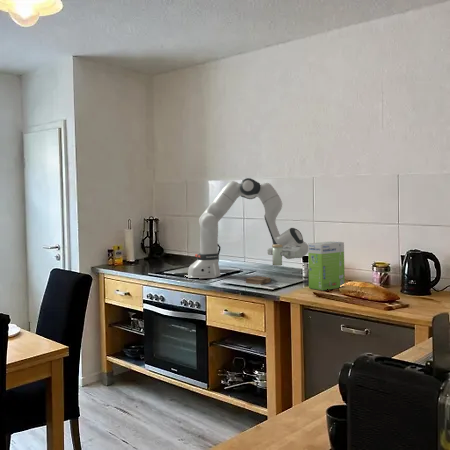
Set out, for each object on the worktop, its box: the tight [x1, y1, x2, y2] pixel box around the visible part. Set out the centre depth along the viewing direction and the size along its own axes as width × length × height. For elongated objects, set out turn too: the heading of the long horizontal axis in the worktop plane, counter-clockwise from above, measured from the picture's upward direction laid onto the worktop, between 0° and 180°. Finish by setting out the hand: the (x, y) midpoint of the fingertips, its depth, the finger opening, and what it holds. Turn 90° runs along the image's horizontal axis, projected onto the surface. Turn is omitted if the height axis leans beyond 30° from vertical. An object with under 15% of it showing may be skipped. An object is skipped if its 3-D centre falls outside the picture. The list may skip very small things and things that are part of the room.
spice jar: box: [271, 243, 283, 267], centre depth 292 cm, size 6×6×12 cm
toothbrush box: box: [307, 241, 346, 291], centre depth 273 cm, size 18×10×24 cm, turn 126°
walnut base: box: [245, 275, 272, 285], centre depth 294 cm, size 10×10×2 cm
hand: (276, 253), depth 291 cm, fingers closed on spice jar, 5 cm apart
